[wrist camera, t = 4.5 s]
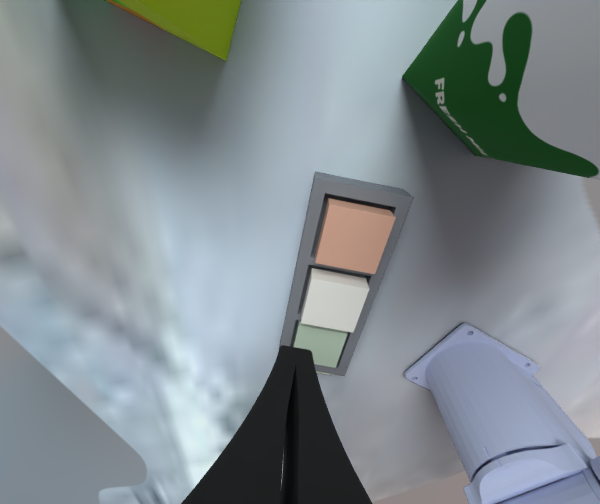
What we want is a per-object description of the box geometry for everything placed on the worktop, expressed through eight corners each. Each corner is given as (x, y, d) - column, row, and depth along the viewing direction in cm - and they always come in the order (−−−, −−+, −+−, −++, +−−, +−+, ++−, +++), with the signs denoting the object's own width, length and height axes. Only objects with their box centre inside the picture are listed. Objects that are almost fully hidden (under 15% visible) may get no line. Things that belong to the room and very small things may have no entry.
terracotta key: (370, 264, 18) (374, 274, 17) (315, 253, 18) (315, 263, 17) (389, 210, 17) (395, 217, 15) (328, 198, 16) (329, 204, 15)
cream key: (351, 320, 21) (353, 332, 19) (301, 311, 21) (300, 323, 19) (365, 278, 19) (369, 289, 18) (311, 268, 19) (311, 278, 18)
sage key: (334, 355, 24) (335, 367, 23) (291, 347, 24) (290, 359, 23) (345, 322, 22) (347, 334, 21) (299, 313, 22) (298, 325, 21)
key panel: (341, 358, 26) (343, 378, 24) (279, 347, 25) (276, 366, 23) (402, 189, 18) (413, 197, 16) (315, 171, 18) (315, 177, 16)
